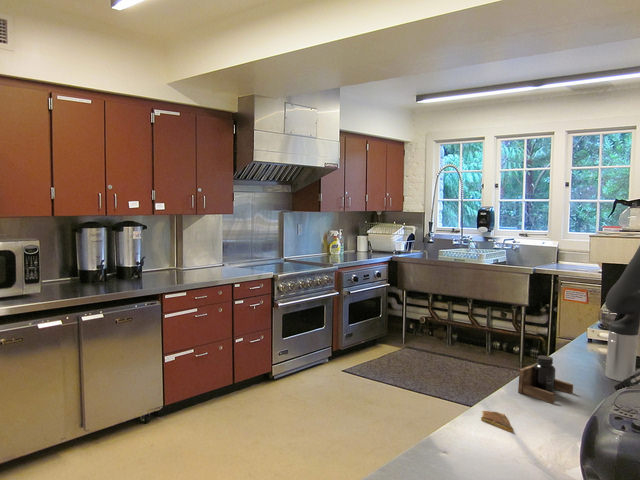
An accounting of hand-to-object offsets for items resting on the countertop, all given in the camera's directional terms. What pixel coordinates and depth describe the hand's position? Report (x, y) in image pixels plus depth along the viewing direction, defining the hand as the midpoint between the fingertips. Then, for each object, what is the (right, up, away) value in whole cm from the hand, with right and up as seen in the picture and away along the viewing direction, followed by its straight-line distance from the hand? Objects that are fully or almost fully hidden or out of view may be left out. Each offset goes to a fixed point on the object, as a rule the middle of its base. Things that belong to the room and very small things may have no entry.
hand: (616, 389), depth 153 cm
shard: (-38, -8, -7) cm, 39 cm away
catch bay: (-14, -6, +16) cm, 22 cm away
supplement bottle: (-15, -6, +17) cm, 23 cm away
